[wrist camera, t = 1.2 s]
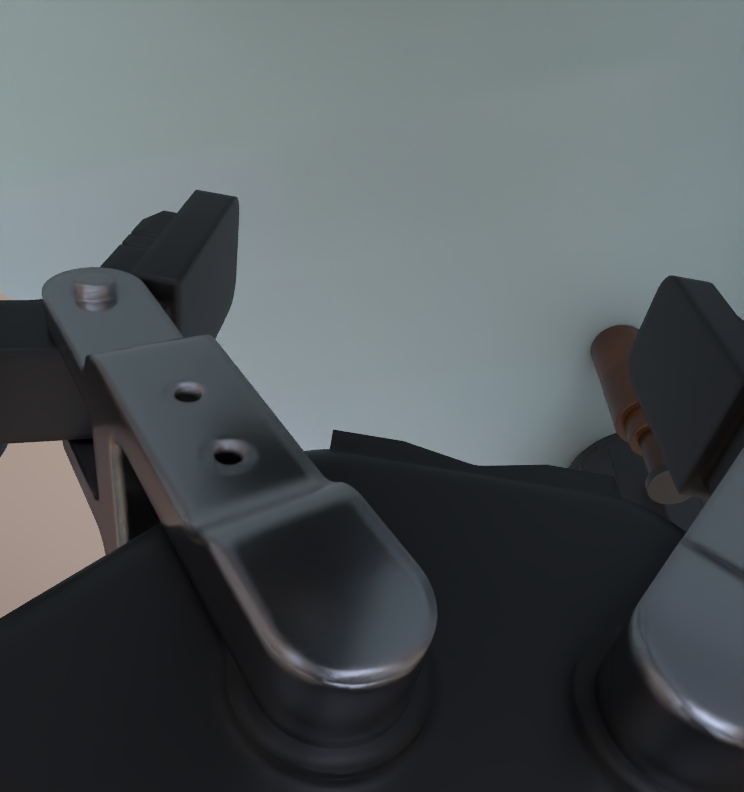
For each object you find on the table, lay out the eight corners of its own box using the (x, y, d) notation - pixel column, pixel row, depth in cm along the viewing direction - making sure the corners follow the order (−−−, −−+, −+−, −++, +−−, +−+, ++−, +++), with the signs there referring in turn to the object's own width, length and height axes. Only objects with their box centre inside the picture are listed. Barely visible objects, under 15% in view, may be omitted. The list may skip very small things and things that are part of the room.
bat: (632, 315, 33) (694, 451, 25) (655, 354, 35) (720, 495, 27) (581, 341, 34) (625, 479, 27) (604, 378, 36) (652, 520, 28)
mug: (570, 426, 38) (600, 545, 31) (736, 428, 37) (803, 550, 30) (549, 566, 45) (568, 688, 38) (687, 570, 44) (733, 694, 37)
